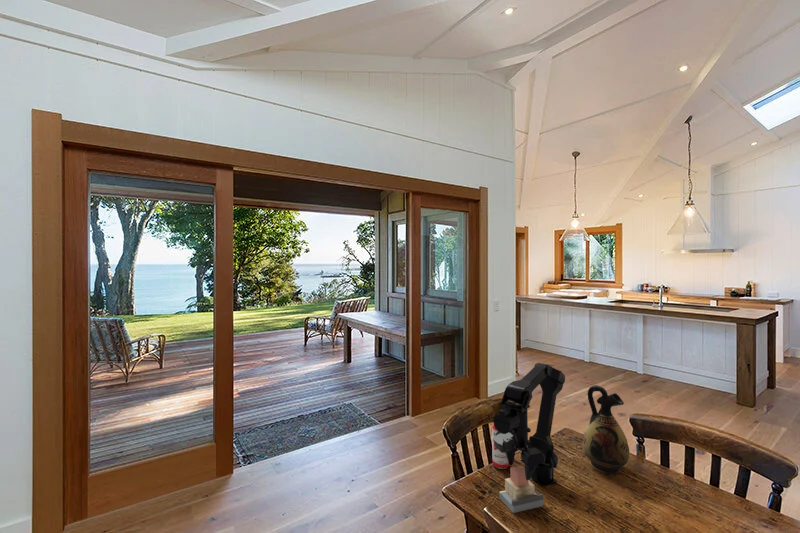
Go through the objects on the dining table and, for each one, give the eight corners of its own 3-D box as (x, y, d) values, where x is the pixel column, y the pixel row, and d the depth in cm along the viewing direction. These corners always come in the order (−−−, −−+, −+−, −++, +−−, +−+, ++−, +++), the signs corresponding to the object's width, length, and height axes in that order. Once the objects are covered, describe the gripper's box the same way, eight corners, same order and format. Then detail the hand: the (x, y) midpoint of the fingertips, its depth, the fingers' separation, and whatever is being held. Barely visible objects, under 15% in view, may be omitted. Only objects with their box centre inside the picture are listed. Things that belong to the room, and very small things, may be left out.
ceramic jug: (636, 468, 137) (634, 388, 137) (620, 484, 127) (619, 398, 127) (589, 451, 150) (587, 378, 150) (571, 465, 140) (570, 386, 140)
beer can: (510, 470, 137) (509, 427, 137) (493, 469, 138) (492, 426, 138) (508, 462, 143) (508, 421, 143) (492, 460, 144) (491, 419, 144)
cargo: (520, 477, 122) (520, 465, 122) (528, 484, 118) (528, 471, 118) (510, 479, 120) (510, 467, 120) (517, 486, 117) (517, 474, 116)
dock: (527, 491, 124) (527, 481, 124) (543, 505, 116) (543, 494, 116) (499, 497, 121) (498, 487, 121) (513, 513, 113) (513, 501, 113)
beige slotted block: (523, 486, 123) (523, 475, 123) (534, 497, 117) (534, 485, 117) (505, 490, 121) (504, 478, 121) (515, 502, 115) (515, 489, 115)
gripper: (481, 416, 126) (482, 462, 125) (513, 440, 108) (514, 493, 108) (510, 412, 129) (510, 456, 129) (545, 434, 111) (546, 486, 111)
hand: (519, 472), depth 119 cm, fingers open, 9 cm apart
